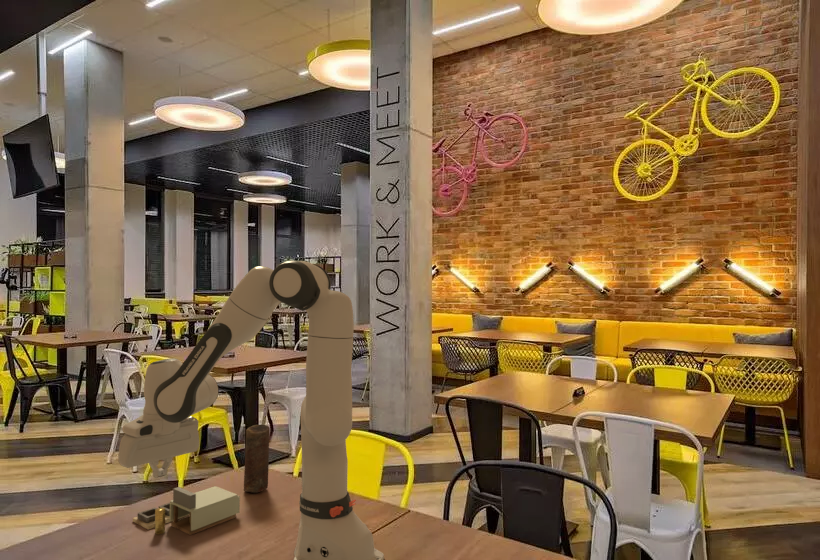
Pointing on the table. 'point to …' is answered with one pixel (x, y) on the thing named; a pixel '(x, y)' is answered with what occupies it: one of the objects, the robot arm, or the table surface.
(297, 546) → the robot arm
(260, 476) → the brown wooden log
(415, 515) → the table surface
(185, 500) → the lid
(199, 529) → the base
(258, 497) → the table surface
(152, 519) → the tan socket tray
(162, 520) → the pin
